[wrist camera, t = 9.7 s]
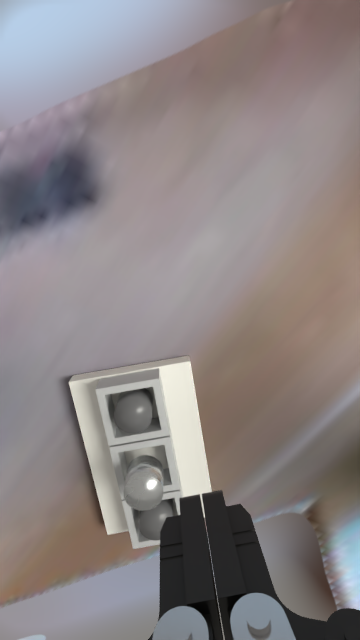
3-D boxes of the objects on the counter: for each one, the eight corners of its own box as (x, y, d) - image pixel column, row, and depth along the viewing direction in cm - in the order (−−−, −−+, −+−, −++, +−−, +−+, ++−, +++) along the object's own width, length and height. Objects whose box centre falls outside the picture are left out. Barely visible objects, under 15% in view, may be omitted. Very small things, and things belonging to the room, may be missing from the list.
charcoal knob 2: (169, 486, 42) (170, 508, 39) (175, 513, 43) (176, 537, 40) (137, 492, 42) (135, 514, 39) (143, 519, 43) (142, 543, 40)
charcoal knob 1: (149, 382, 39) (148, 396, 36) (155, 414, 40) (154, 430, 37) (114, 388, 39) (110, 402, 36) (121, 419, 40) (117, 436, 36)
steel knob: (159, 452, 38) (159, 473, 34) (166, 483, 39) (166, 506, 35) (123, 458, 38) (120, 480, 34) (130, 489, 38) (127, 513, 35)
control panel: (188, 355, 41) (192, 370, 36) (213, 503, 46) (219, 534, 41) (73, 375, 41) (61, 393, 36) (109, 522, 46) (103, 555, 41)
